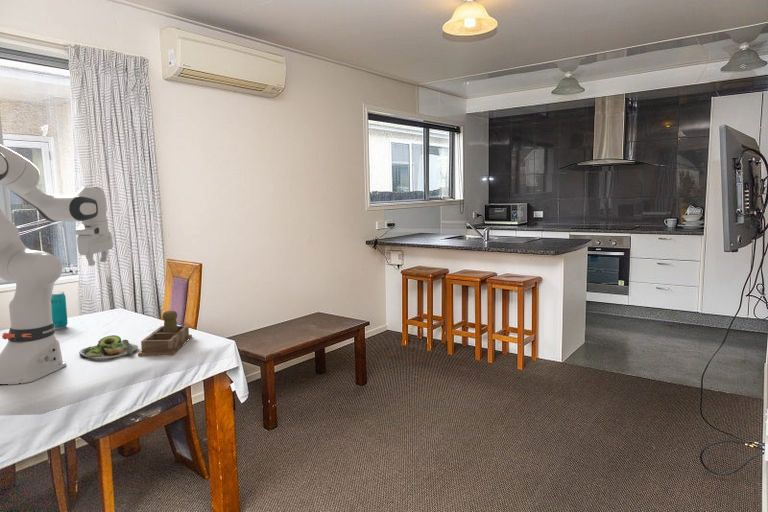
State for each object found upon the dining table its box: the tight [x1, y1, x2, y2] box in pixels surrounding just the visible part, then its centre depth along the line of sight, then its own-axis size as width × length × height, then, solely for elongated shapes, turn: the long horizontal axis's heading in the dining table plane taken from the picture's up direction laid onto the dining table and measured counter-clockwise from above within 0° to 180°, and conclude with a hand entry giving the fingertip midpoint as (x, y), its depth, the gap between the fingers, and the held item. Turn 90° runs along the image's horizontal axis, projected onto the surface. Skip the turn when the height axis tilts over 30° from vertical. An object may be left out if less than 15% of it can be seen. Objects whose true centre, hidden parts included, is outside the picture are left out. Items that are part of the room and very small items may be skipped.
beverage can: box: [51, 291, 69, 330], centre depth 208 cm, size 6×6×15 cm
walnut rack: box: [137, 325, 193, 357], centre depth 186 cm, size 22×12×5 cm, turn 4°
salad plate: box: [79, 335, 139, 361], centre depth 178 cm, size 19×18×5 cm
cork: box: [162, 310, 178, 333], centre depth 190 cm, size 6×6×11 cm
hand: (97, 263), depth 195 cm, fingers open, 8 cm apart
